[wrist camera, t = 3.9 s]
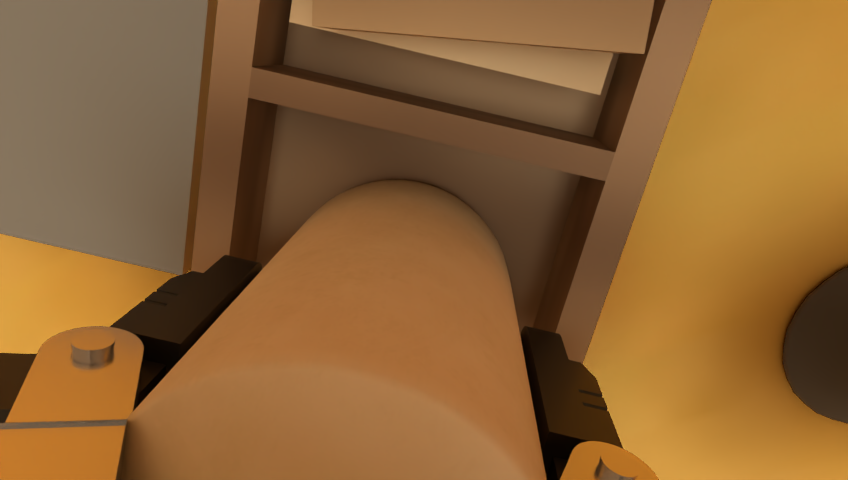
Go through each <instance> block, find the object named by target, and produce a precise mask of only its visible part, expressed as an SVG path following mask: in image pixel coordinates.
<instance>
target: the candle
mask: <svg viewBox="0 0 848 480" xmlns="http://www.w3.org/2000/svg"><path fill="white" fill-rule="evenodd" d="M127 419H128V427H127V435H126V443H125V451H124V460H123V468H122V477H121V480H547V478H546V473H545V467H544V462H543V457H542V451H541V446H540V440H539V435H538V429H537V424H536V418H535V413H534V407H533V402H532V397H531V391H530V386H529V380H528V375H527V369H526V364H525V358H524V353H523V347H522V342H521V337H520V331H519V326H518V320H517V315H516V309H515V304H514V298H513V293H512V287H511V282H510V277H509V273H508V269H507V265H506V262H505V258H504V255H503V252H502V250H501V248H500V246H499V243H498V241H497V240H496V238H495V236H494V235H493V233H492V231H491V230H490V228H489V227H488V226H487V225H486V224H485V222H484V221H483V220H482V219H481V217H480V216H479V215H478V214H477V213H476V212H475V211H474V210H473V209H471V208H470V207H469V206H468V205H467V204H465V203H464V202H463V201H461V200H460V199H458V198H457V197H455V196H454V195H452V194H450V193H448V192H446V191H444V190H442V189H439V188H437V187H434V186H431V185H428V184H424V183H420V182H416V181H408V180H382V181H376V182H370V183H367V184H363V185H360V186H357V187H354V188H351V189H349V190H347V191H345V192H342V193H340V194H339V195H337V196H335V197H334V198H332V199H331V200H329V201H328V202H326V203H325V204H324V205H323V206H322V207H320V208H319V209H318V210H317V211H316V212H315V213H314V214H313V215H312V216H311V217H310V218H309V219H308V220H307V221H306V222H305V223H304V224H303V225H302V226H301V228H300V229H299V230H298V231H297V232H296V233H295V234H294V235H293V236H292V237H291V239H290V240H289V241H288V242H287V243H286V244H285V245H284V246H283V247H282V248H281V249H280V251H279V252H278V253H277V254H276V255H275V256H274V257H273V258H272V259H271V260H270V262H269V263H268V264H267V265H266V266H265V267H264V268H263V269H262V270H261V271H260V273H259V274H258V275H257V276H256V277H255V278H254V279H253V280H252V281H251V282H250V284H249V285H248V286H247V287H246V288H245V289H244V290H243V291H242V292H241V293H240V295H239V296H238V297H237V298H236V299H235V300H234V301H233V302H232V303H231V304H230V306H229V307H228V308H227V309H226V310H225V311H224V312H223V313H222V314H221V315H220V316H219V318H218V319H217V320H216V321H215V322H214V323H213V324H212V325H211V326H210V327H209V329H208V330H207V331H206V332H205V333H204V334H203V335H202V336H201V337H200V338H199V340H198V341H197V342H196V343H195V344H194V345H193V346H192V347H191V348H190V349H189V351H188V352H187V353H186V354H185V355H184V356H183V357H182V358H181V359H180V360H179V362H178V363H177V364H176V365H175V366H174V367H173V368H172V369H171V370H170V371H169V373H168V374H167V375H166V376H165V377H164V378H163V379H162V380H161V381H160V382H159V384H158V385H157V386H156V387H155V388H154V389H153V390H152V391H151V392H150V393H149V395H148V396H147V397H146V398H145V399H144V400H143V401H142V402H141V403H140V404H139V406H138V407H137V408H136V409H135V410H134V411H133V412H132V413H131V414H130V416H129V417H128V418H127Z"/></svg>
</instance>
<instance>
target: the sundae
mask: <svg viewBox="0 0 848 480" xmlns="http://www.w3.org/2000/svg"><path fill="white" fill-rule="evenodd" d="M783 365H784V369H785V372H786V376H787V379H788V381H789V383H790V385H791V388H792V390H793V392H794V393H795V394H796V395H797V396H798V397H799V398H800V399H801V400H802V401H803V402H804V403H805V404H806V405H807V406H809V407H810V408H811V409H812V410H814V411H815V412H816V413H818V414H821V415H823V416H826V417H828V418H831V419H833V420H837V421H841V422H844V423H848V267H847V268H844V269H842V270H840V271H838V272H837V273H835V274H834V275H833V276H831V277H830V278H828V279H827V280H826V281H824V282H823V283H822V284H821V285H819V286H818V287H817V288H816V289H815V290H814V291H813V292H812V293H811V294H810V295H808V296H807V297H806V299H805V300H804V302H803V303H802V305H801V306H800V308H799V309H798V311H797V312H796V313H795V315H794V317H793V319H792V321H791V323H790V325H789V327H788V329H787V333H786V338H785V343H784V350H783Z"/></svg>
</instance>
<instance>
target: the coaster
mask: <svg viewBox="0 0 848 480" xmlns="http://www.w3.org/2000/svg"><path fill="white" fill-rule="evenodd" d="M217 5H218V0H0V233H1V234H5V235H9V236H13V237H18V238H22V239H26V240H31V241H35V242H39V243H44V244H48V245H52V246H57V247H61V248H65V249H69V250H74V251H78V252H82V253H87V254H91V255H95V256H100V257H104V258H108V259H113V260H117V261H121V262H125V263H130V264H134V265H138V266H143V267H147V268H151V269H156V270H160V271H164V272H169V273H173V274H177V275H183V274H185V273H186V272H188V271H189V270H190V269H191V268H192V258H193V248H194V238H195V227H196V217H197V207H198V197H199V187H200V177H201V167H202V157H203V147H204V136H205V126H206V116H207V106H208V96H209V86H210V76H211V66H212V56H213V45H214V35H215V25H216V15H217Z"/></svg>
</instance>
